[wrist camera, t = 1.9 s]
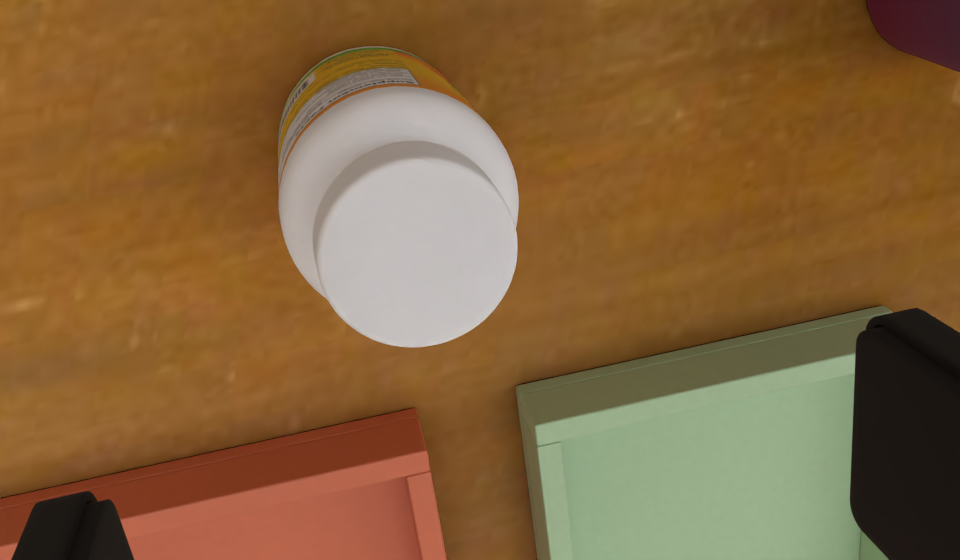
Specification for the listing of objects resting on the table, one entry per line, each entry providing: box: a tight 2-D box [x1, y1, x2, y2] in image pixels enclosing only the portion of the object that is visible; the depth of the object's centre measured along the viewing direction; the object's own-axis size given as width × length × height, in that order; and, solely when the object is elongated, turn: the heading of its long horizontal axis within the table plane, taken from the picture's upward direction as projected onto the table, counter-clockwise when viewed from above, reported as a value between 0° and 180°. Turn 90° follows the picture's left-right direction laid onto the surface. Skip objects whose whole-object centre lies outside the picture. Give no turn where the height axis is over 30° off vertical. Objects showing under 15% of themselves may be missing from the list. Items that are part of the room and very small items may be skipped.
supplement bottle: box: [278, 46, 519, 347], centre depth 22 cm, size 5×5×10 cm
